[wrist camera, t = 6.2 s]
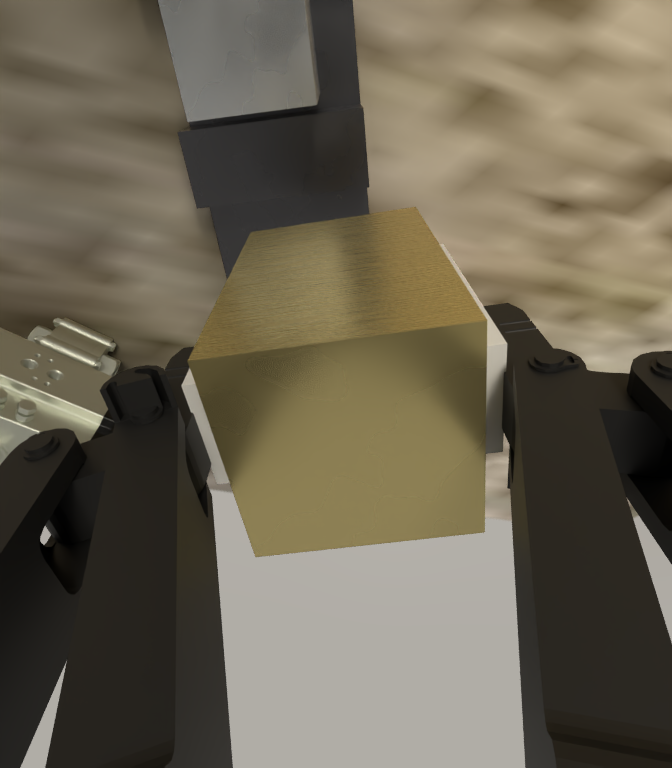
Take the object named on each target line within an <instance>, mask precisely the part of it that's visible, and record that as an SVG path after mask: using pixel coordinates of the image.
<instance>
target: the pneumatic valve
mask: <svg viewBox="0 0 672 768" xmlns="http://www.w3.org/2000/svg"><path fill="white" fill-rule="evenodd" d="M53 323H54V326H56V328H55V329H54V330H51V329H49V328H46V327H44V326H40V325H38V326H36V327H35V328H34V329H33V330H32V332H31V333H30V334H29V336H28V338H27V339H25V338H23V337H20V336H18V335H16V334H13V333H11V332H9V331H7V330H4V329H2V328H0V465H1V463H2V462H3V461H4V460H5V459H6V457H7V456H8V455H9V454H10V452H11V451H13V450H14V449H15V448H16V447H17V446H18V445H19V444H20V443H22V442H24V441H25V440H27V439H28V438H29V437H30V436H32V435H34V434H38V433H39V432H42V431H48V430H52V429H56V428H67V429H70V430H72V431H74V433H75V435H76V436H77V438H78V440H79V442H80V443H84V442H87V441H90V440H93V439H96V438H99V437H103V436H106V435H108V434H111V433H113V430H114V425H115V423H114V421H113V418H112V416H111V414H110V412H109V410H108V408H107V406H106V403H105V401H104V399H103V397H102V395H101V393H100V391H99V390H100V389H101V387H102V386H103V384H104V383H105V382H106V381H108V380H109V379H110V378H111V377H113V376H115V375H116V373H117V371H118V368H119V366H120V363H121V362H120V360H118V359H116V358H113V357H111V356H109V355H107V354H108V351H111V352H113V351H114V349H115V347H116V345H117V344H115V343H114V342H113V339H112V338H110V337H107V336H105V335H103V334H101V333H99V332H96V331H94V330H92V329H90V328H88V327H86V326H83V325H81V324H79V323H77V322H75V321H72V320H70V319H68V318H66V317H65V318H64V319H60V318H57V319H54V320H53Z"/></svg>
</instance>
